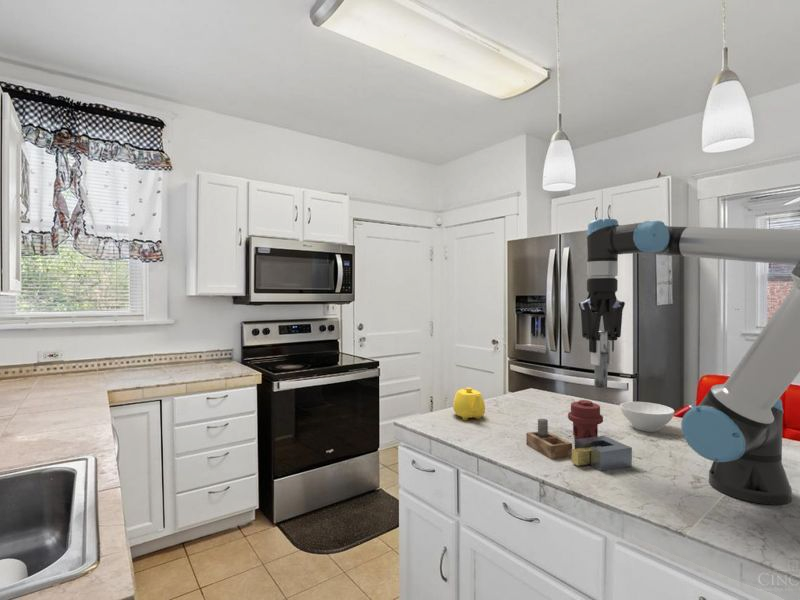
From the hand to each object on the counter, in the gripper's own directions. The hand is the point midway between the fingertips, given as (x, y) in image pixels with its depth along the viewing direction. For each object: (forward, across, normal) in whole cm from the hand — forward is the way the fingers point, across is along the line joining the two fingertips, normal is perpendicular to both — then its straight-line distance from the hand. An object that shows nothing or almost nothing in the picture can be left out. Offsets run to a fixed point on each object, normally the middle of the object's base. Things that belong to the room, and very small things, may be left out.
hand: (601, 364), depth 119 cm
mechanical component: (+27, -7, -14) cm, 31 cm away
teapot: (+27, +16, -49) cm, 58 cm away
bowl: (+27, -35, -19) cm, 48 cm away
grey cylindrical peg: (+6, 0, 0) cm, 6 cm away
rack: (+27, +8, -12) cm, 30 cm away
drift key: (+26, +5, 0) cm, 27 cm away
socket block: (+27, 0, 0) cm, 27 cm away
